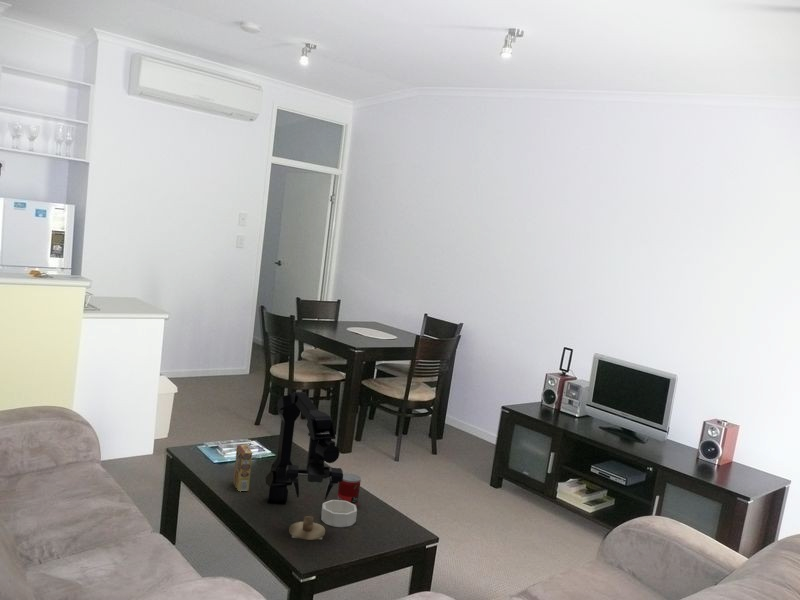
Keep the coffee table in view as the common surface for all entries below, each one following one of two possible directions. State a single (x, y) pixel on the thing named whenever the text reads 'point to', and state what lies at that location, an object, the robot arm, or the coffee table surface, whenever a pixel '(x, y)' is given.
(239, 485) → the candy box
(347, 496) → the canned food
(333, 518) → the bowl
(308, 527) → the lid
